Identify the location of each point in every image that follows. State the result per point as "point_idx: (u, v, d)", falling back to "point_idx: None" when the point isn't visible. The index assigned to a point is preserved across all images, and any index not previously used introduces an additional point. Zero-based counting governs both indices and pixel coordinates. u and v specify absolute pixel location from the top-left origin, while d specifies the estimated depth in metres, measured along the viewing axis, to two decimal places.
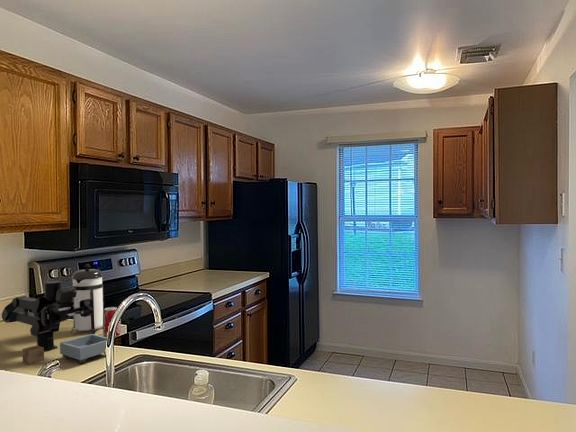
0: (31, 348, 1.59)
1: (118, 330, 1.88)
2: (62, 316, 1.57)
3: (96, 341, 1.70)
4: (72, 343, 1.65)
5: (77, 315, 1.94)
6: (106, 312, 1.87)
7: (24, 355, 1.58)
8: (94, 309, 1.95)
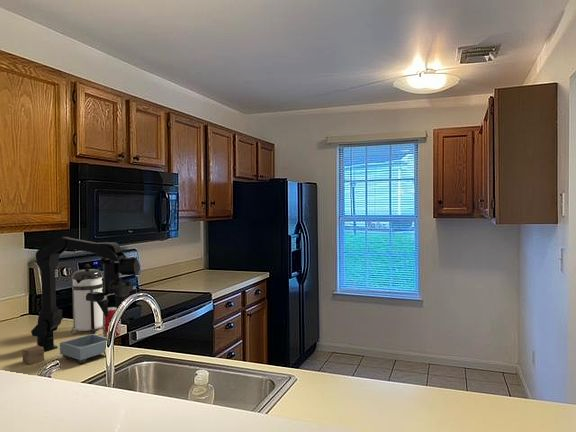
0: (31, 348, 1.59)
1: (118, 330, 1.88)
2: (104, 311, 1.69)
3: (96, 341, 1.70)
4: (72, 343, 1.65)
5: (77, 315, 1.94)
6: None
7: (24, 355, 1.58)
8: (94, 309, 1.95)
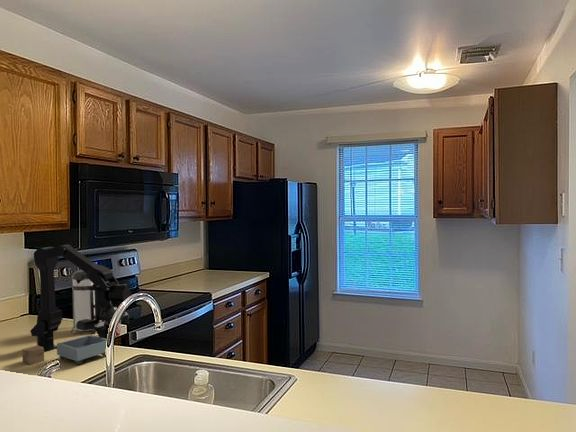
0: (31, 348, 1.59)
1: (118, 330, 1.88)
2: (101, 337, 1.68)
3: (93, 342, 1.69)
4: (69, 344, 1.64)
5: (77, 315, 1.94)
6: None
7: (24, 355, 1.58)
8: (94, 309, 1.95)
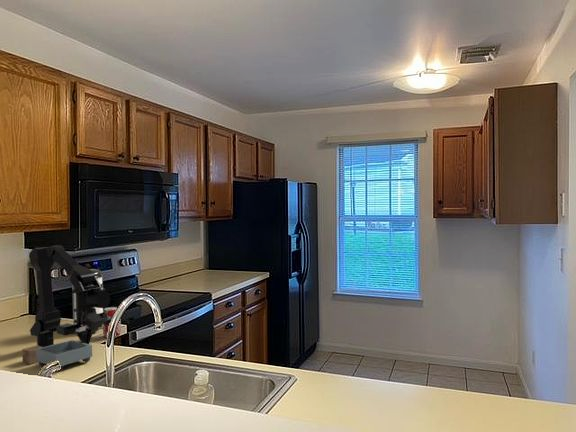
0: (31, 348, 1.59)
1: (118, 330, 1.88)
2: (83, 342, 1.62)
3: (75, 347, 1.62)
4: (49, 349, 1.58)
5: None
6: (106, 312, 1.87)
7: (24, 355, 1.58)
8: None
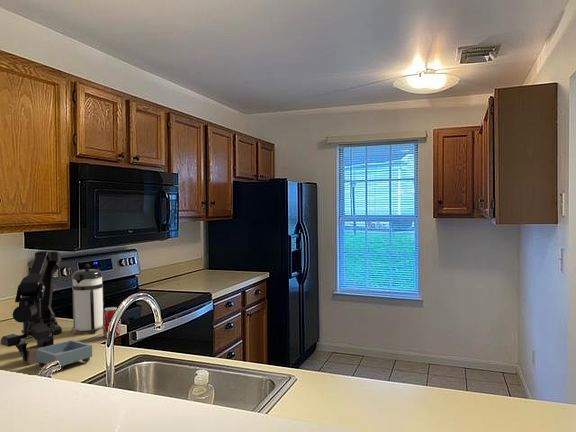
0: (31, 348, 1.59)
1: (118, 330, 1.88)
2: (22, 354, 1.57)
3: (75, 347, 1.62)
4: (49, 349, 1.58)
5: (77, 315, 1.94)
6: (106, 312, 1.87)
7: None
8: (94, 309, 1.95)
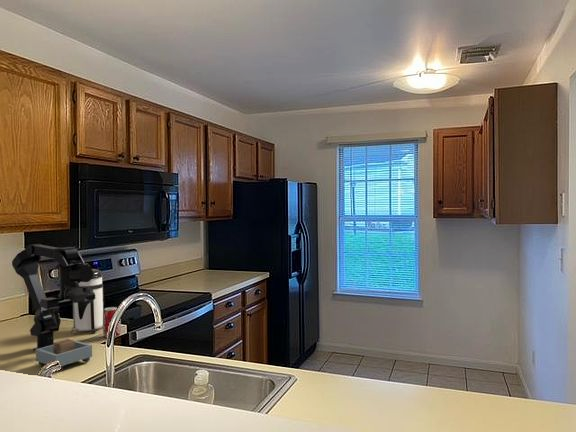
0: (62, 341, 1.56)
1: (118, 330, 1.88)
2: (54, 318, 1.63)
3: (75, 347, 1.62)
4: (49, 349, 1.58)
5: (77, 315, 1.94)
6: (106, 312, 1.87)
7: (55, 349, 1.55)
8: (94, 309, 1.95)
